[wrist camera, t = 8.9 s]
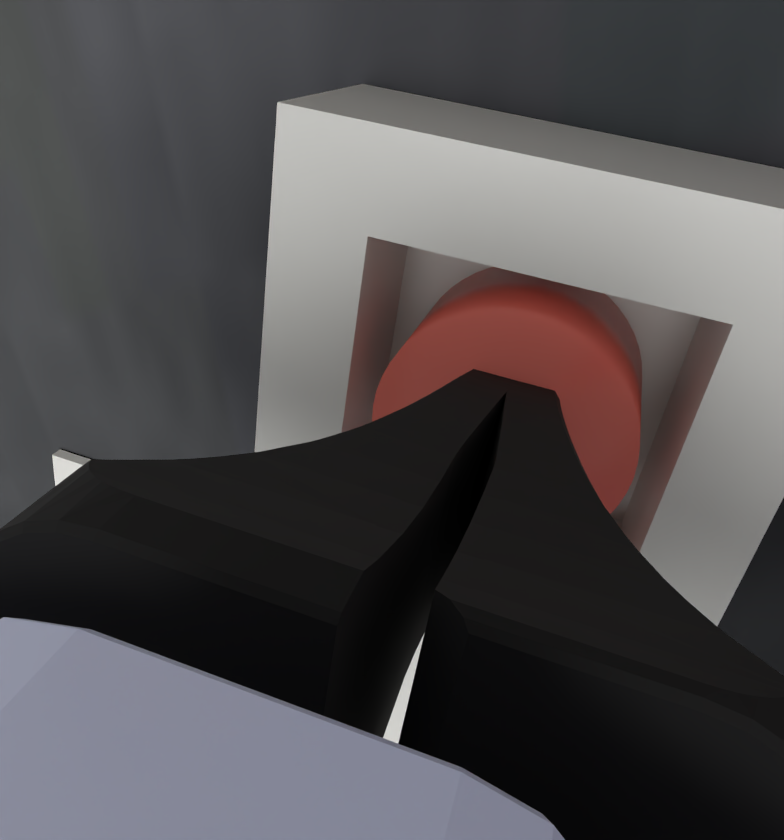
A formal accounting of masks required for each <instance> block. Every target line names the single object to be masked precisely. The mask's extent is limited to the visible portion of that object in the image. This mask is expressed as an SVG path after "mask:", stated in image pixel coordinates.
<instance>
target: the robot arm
mask: <svg viewBox="0 0 784 840" xmlns="http://www.w3.org/2000/svg"><path fill="white" fill-rule="evenodd" d="M423 635H424V638H423V642H422V646H421V650H420V654H419V659H418V663H417V667H416V671H415V675H414V680H413V684H412V688H411V692H410V696H409V701H408V705H407V709H406V713H405V717H404V722H403V726H402V730H401V734H400V738H399V743H395V742H392V741H390V740H387V739H384V738H383V737H384V734H385V731H386V728H387V725H388V722H389V720H390V717H391V714H392V711H393V708H394V706H395V703H396V700H397V697H398V694H399V691H400V689H401V686H402V683H403V680H404V677H405V675H406V673H407V670H408V668H409V666H410V663H411V661H412V658H413V656H414V654H415V651H416V649H417V647H418V645H419V643H420V641H421V639H422V637H423ZM0 840H784V676H783V675H781V674H780V673H779V672H777V671H776V670H775V669H773V668H772V667H770V666H769V665H768V664H766V663H765V662H764V661H762V660H761V659H759V658H758V657H757V656H755V655H754V654H753V653H751V652H750V651H748V650H747V649H746V648H744V647H743V646H742V645H740V644H739V643H737V642H736V641H735V640H733V639H732V638H731V637H729V636H728V635H727V634H725V633H724V632H723V631H722V630H721V629H719V628H718V627H717V626H716V625H715V624H714V623H712V622H711V621H710V620H709V619H708V618H707V617H705V616H704V615H703V614H702V613H701V612H700V611H699V610H697V609H696V608H695V607H694V606H693V605H692V604H690V603H689V602H688V601H687V600H686V599H685V598H684V597H683V596H682V595H681V594H680V593H679V592H678V591H676V590H675V589H674V588H673V587H672V586H671V585H670V584H669V583H668V582H667V581H666V580H665V579H664V578H663V577H662V576H661V575H660V574H659V573H658V571H657V570H656V569H655V568H654V567H653V566H652V565H651V564H650V563H649V562H648V561H647V560H646V558H645V557H644V556H643V555H642V554H641V553H640V552H639V551H638V550H637V549H636V547H635V546H634V545H633V544H632V543H631V541H630V540H629V539H628V538H627V537H626V535H625V534H624V533H623V531H622V530H621V529H620V527H619V526H618V524H617V523H616V522H615V520H614V519H613V518H612V516H611V515H610V513H609V512H608V511H607V509H606V508H605V507H604V505H603V503H602V502H601V500H600V498H599V497H598V495H597V493H596V491H595V489H594V488H593V486H592V484H591V482H590V480H589V478H588V476H587V474H586V472H585V470H584V468H583V466H582V464H581V462H580V459H579V457H578V455H577V452H576V450H575V448H574V445H573V443H572V441H571V438H570V435H569V433H568V430H567V427H566V423H565V420H564V417H563V413H562V409H561V405H560V399H559V397H558V396H557V394H556V392H555V391H554V390H551V389H547V388H543V387H539V386H536V385H532V384H528V383H524V382H520V381H517V380H513V379H509V378H505V377H502V376H498V375H494V374H491V373H487V372H483V371H479V370H476V369H472V370H471V371H469V372H467V373H465V374H463V375H461V376H459V377H458V378H456V379H454V380H453V381H451V382H449V383H448V384H446V385H444V386H443V387H441V388H439V389H438V390H436V391H434V392H432V393H431V394H429V395H427V396H425V397H423V398H421V399H419V400H418V401H416V402H414V403H412V404H410V405H408V406H406V407H404V408H402V409H400V410H398V411H395V412H393V413H391V414H389V415H386V416H384V417H382V418H380V419H377V420H375V421H373V422H371V423H368V424H365V425H363V426H360V427H357V428H354V429H351V430H349V431H345V432H342V433H339V434H336V435H332V436H329V437H326V438H322V439H318V440H315V441H311V442H306V443H301V444H296V445H291V446H286V447H281V448H276V449H271V450H266V451H261V452H254V453H247V454H239V455H230V456H221V457H209V458H197V459H178V460H96V459H91V460H90V461H88V462H87V463H85V464H84V465H83V466H81V467H80V468H78V469H77V470H76V471H75V472H73V473H72V474H71V475H69V476H68V477H67V478H66V479H64V480H63V481H62V482H60V483H59V484H58V485H56V486H55V487H54V488H53V489H51V490H50V491H49V492H47V493H46V494H45V495H44V496H42V497H41V498H40V499H38V500H37V501H36V502H35V503H33V504H32V505H31V506H29V507H28V508H27V509H26V510H24V511H23V512H22V513H20V514H19V515H18V516H17V517H15V518H14V519H13V520H11V521H10V522H9V523H7V524H6V525H5V526H4V527H2V528H1V529H0Z"/></svg>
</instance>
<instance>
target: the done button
mask: <svg viewBox="0 0 784 840" xmlns="http://www.w3.org/2000/svg"><path fill="white" fill-rule="evenodd" d="M472 369H476V370H479V371H483V372H487V373H491V374H494V375H498V376H502V377H505V378H509V379H513V380H517V381H520V382H524V383H528V384H532V385H536V386H539V387H543V388H547V389H551V390H554V391H555V392H556V394H557V396H558V397H559V399H560V405H561V409H562V413H563V417H564V420H565V423H566V427H567V430H568V433H569V435H570V438H571V441H572V443H573V445H574V448H575V450H576V452H577V455H578V457H579V459H580V462H581V464H582V466H583V468H584V470H585V472H586V474H587V476H588V478H589V480H590V482H591V484H592V486H593V488H594V489H595V491H596V493H597V495H598V497H599V498H600V500H601V502H602V503H603V505H604V507H605V508H606V509H607V511H608V512H609V513H610V514H611V513H612V512H613V511H614V510H615V509H616V508H617V506H618V505H619V504H620V502H621V501H622V499H623V498H624V496H625V495H626V493H627V491H628V489H629V487H630V485H631V483H632V481H633V479H634V475H635V472H636V468H637V465H638V459H639V451H640V430H641V400H642V360H641V355H640V349H639V346H638V343H637V340H636V337H635V334H634V332H633V330H632V328H631V326H630V324H629V322H628V320H627V319H626V317H625V316H624V314H623V313H622V312H621V310H620V309H619V307H618V306H617V305H616V304H615V303H614V302H613V301H612V300H611V299H610V298H609V297H608V296H607V295H606V294H604V293H600V292H596V291H592V290H588V289H584V288H579V287H575V286H571V285H567V284H563V283H559V282H555V281H550V280H546V279H542V278H538V277H534V276H530V275H526V274H522V273H517V272H513V271H509V270H505V269H501V268H497V267H491V268H487V269H485V270H482V271H479V272H476V273H474V274H472V275H470V276H469V277H467V278H465V279H463V280H461V281H460V282H458V283H457V284H456V285H454V286H453V287H451V288H450V289H449V290H448V291H447V292H446V293H445V294H444V295H443V296H442V297H441V298H440V299H439V300H438V301H437V303H436V304H435V305H434V306H433V308H432V309H431V310H430V311H429V313H428V314H427V315H426V317H425V318H424V319H423V320H422V322H421V323H420V324H419V326H418V327H417V328H416V330H415V331H414V332H413V333H412V335H411V336H410V337H409V339H408V340H407V341H406V342H405V344H404V345H403V346H402V348H401V349H400V350H399V351H398V353H397V354H396V355H395V357H394V358H393V359H392V360H391V362H390V363H389V365H388V367H387V368H386V370H385V372H384V373H383V375H382V377H381V380H380V382H379V385H378V387H377V390H376V394H375V399H374V403H373V413H372V422H373V421H375V420H377V419H380V418H382V417H384V416H386V415H389V414H391V413H393V412H395V411H398V410H400V409H402V408H404V407H406V406H408V405H410V404H412V403H414V402H416V401H418V400H419V399H421V398H423V397H425V396H427V395H429V394H431V393H432V392H434V391H436V390H438V389H439V388H441V387H443V386H444V385H446V384H448V383H449V382H451V381H453V380H454V379H456V378H458V377H459V376H461V375H463V374H465V373H467V372H469V371H471V370H472Z"/></svg>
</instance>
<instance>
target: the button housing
mask: <svg viewBox="0 0 784 840" xmlns="http://www.w3.org/2000/svg"><path fill="white" fill-rule="evenodd" d="M491 267H497V268H501V269H505V270H509V271H513V272H517V273H522V274H526V275H530V276H534V277H538V278H542V279H546V280H550V281H555V282H559V283H563V284H567V285H571V286H575V287H579V288H584V289H588V290H592V291H596V292H600V293H604V294H606V295H607V296H608V297H609V298H610V299H611V300H612V301H613V302H614V303H615V304H616V305H617V306H618V307H619V309H620V310H621V312H622V313H623V314H624V316H625V317H626V319H627V320H628V322H629V324H630V326H631V328H632V330H633V332H634V334H635V337H636V340H637V343H638V346H639V349H640V355H641V360H642V400H641V430H640V451H639V459H638V465H637V468H636V472H635V475H634V479H633V481H632V483H631V485H630V487H629V489H628V491H627V493H626V495H625V496H624V498H623V499H622V501H621V502H620V504H619V505H618V506H617V508H616V509H615V510H614V511H613V512H612V513H611V514H610V515H611V516H612V518H613V519H614V520H615V522H616V523H617V524H618V526H619V527H620V529H621V530H622V531H623V533H624V534H625V535H626V537H627V538H628V539H629V540H630V541H631V543H632V544H633V545H634V546H635V547H636V549H637V550H638V551H639V552H640V553H641V554H642V555H643V556H644V557H645V558H646V560H647V561H648V562H649V563H650V564H651V565H652V566H653V567H654V568H655V569H656V570H657V571H658V573H659V574H660V575H661V576H662V577H663V578H664V579H665V580H666V581H667V582H668V583H669V584H670V585H671V586H672V587H673V588H674V589H675V590H676V591H678V592H679V593H680V594H681V595H682V596H683V597H684V598H685V599H686V600H687V601H688V602H689V603H690V604H692V605H693V606H694V607H695V608H696V609H697V610H699V611H700V612H701V613H702V614H703V615H704V616H705V617H707V618H708V619H709V620H710V621H711V622H712V623H714V624H715V625H716V626H718V624H719V622H720V620H721V618H722V616H723V614H724V612H725V610H726V608H727V607H728V605H729V603H730V601H731V599H732V597H733V595H734V593H735V591H736V589H737V587H738V585H739V583H740V581H741V579H742V577H743V575H744V573H745V572H746V570H747V568H748V566H749V564H750V562H751V560H752V558H753V556H754V554H755V552H756V550H757V548H758V546H759V544H760V542H761V540H762V538H763V536H764V535H765V533H766V531H767V529H768V527H769V525H770V523H771V521H772V519H773V517H774V515H775V513H776V511H777V509H778V507H779V505H780V503H781V501H782V500H783V498H784V169H782V168H777V167H772V166H767V165H762V164H757V163H752V162H747V161H742V160H737V159H733V158H728V157H723V156H718V155H713V154H708V153H703V152H698V151H693V150H688V149H683V148H678V147H673V146H668V145H663V144H658V143H653V142H648V141H643V140H638V139H634V138H629V137H624V136H619V135H614V134H609V133H604V132H599V131H594V130H589V129H584V128H579V127H574V126H569V125H564V124H559V123H554V122H549V121H544V120H539V119H534V118H530V117H525V116H520V115H515V114H510V113H505V112H500V111H495V110H490V109H485V108H480V107H475V106H470V105H465V104H460V103H455V102H450V101H445V100H440V99H435V98H431V97H426V96H421V95H416V94H411V93H406V92H401V91H396V90H391V89H386V88H381V87H376V86H371V85H366V84H360V85H355V86H351V87H346V88H341V89H336V90H332V91H327V92H322V93H318V94H313V95H308V96H304V97H299V98H294V99H289V100H285V101H280V102H277V117H276V132H275V148H274V163H273V178H272V194H271V209H270V224H269V240H268V255H267V270H266V286H265V301H264V316H263V332H262V347H261V362H260V378H259V393H258V408H257V424H256V439H255V452H261V451H266V450H271V449H276V448H281V447H286V446H291V445H296V444H301V443H306V442H311V441H315V440H318V439H322V438H326V437H329V436H332V435H336V434H339V433H342V432H345V431H349V430H351V429H354V428H357V427H360V426H363V425H365V424H368V423H371V422H372V413H373V403H374V399H375V394H376V390H377V387H378V385H379V382H380V380H381V377H382V375H383V373H384V372H385V370H386V368H387V367H388V365H389V363H390V362H391V360H392V359H393V358H394V357H395V355H396V354H397V353H398V351H399V350H400V349H401V348H402V346H403V345H404V344H405V342H406V341H407V340H408V339H409V337H410V336H411V335H412V333H413V332H414V331H415V330H416V328H417V327H418V326H419V324H420V323H421V322H422V320H423V319H424V318H425V317H426V315H427V314H428V313H429V311H430V310H431V309H432V308H433V306H434V305H435V304H436V303H437V301H438V300H439V299H440V298H441V297H442V296H443V295H444V294H445V293H446V292H447V291H448V290H449V289H450V288H451V287H453V286H454V285H456V284H457V283H458V282H460V281H461V280H463V279H465V278H467V277H469V276H470V275H472V274H474V273H476V272H479V271H482V270H485V269H487V268H491Z"/></svg>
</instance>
